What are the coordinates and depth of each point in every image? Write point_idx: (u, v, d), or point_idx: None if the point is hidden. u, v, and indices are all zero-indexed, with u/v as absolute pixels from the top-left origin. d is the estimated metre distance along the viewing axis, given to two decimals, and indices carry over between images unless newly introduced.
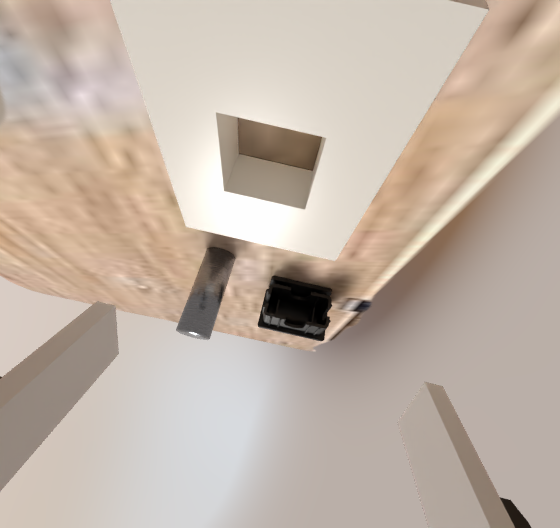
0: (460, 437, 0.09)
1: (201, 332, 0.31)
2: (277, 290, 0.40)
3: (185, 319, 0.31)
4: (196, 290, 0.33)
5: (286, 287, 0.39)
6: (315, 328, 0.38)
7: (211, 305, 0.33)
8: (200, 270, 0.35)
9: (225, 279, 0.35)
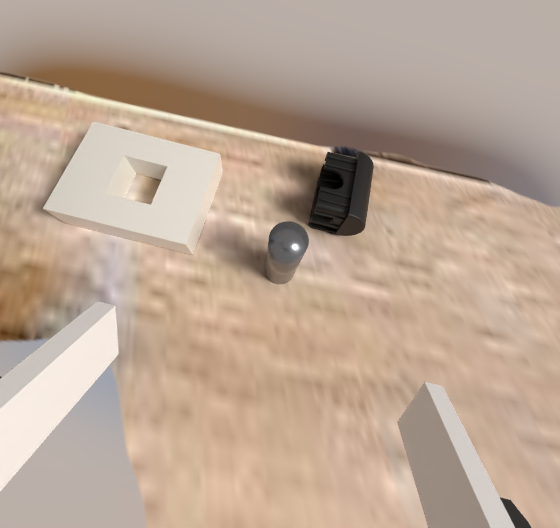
0: (460, 437, 0.09)
1: (276, 225, 0.28)
2: (319, 216, 0.39)
3: (269, 247, 0.28)
4: (267, 259, 0.32)
5: (312, 208, 0.40)
6: (332, 160, 0.37)
7: None
8: (269, 271, 0.34)
9: None
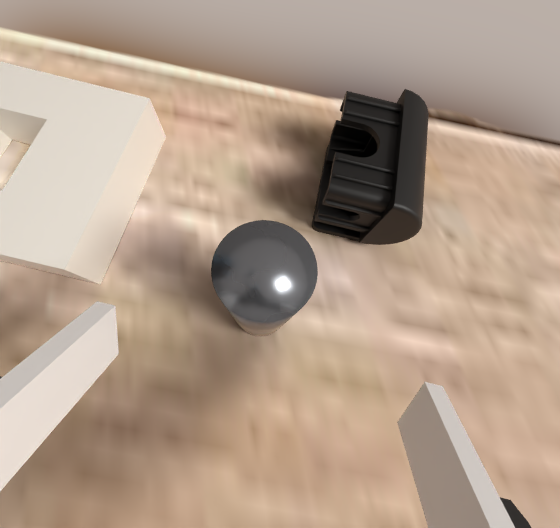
0: (460, 437, 0.09)
1: (233, 231, 0.11)
2: (331, 211, 0.22)
3: None
4: None
5: (318, 197, 0.23)
6: (356, 105, 0.20)
7: None
8: None
9: None
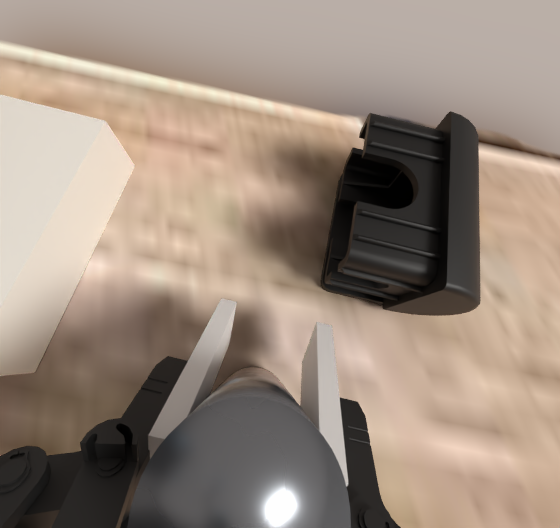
0: (327, 357, 0.11)
1: (182, 422, 0.05)
2: None
3: None
4: None
5: (330, 249, 0.17)
6: (384, 133, 0.14)
7: None
8: None
9: (241, 372, 0.12)
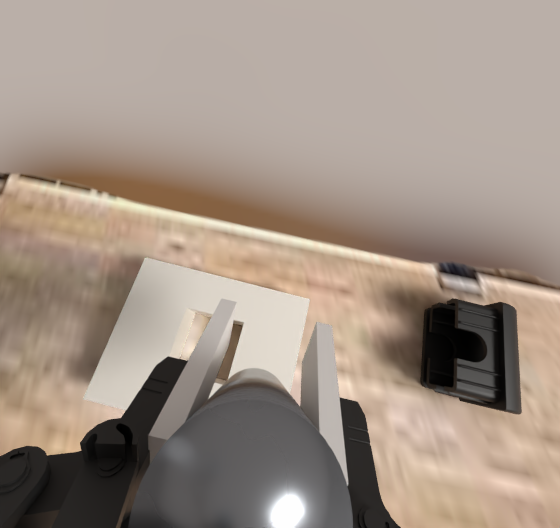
0: (327, 357, 0.11)
1: (183, 425, 0.05)
2: (440, 378, 0.29)
3: None
4: None
5: (428, 364, 0.30)
6: (466, 314, 0.27)
7: (211, 396, 0.09)
8: None
9: (241, 373, 0.12)
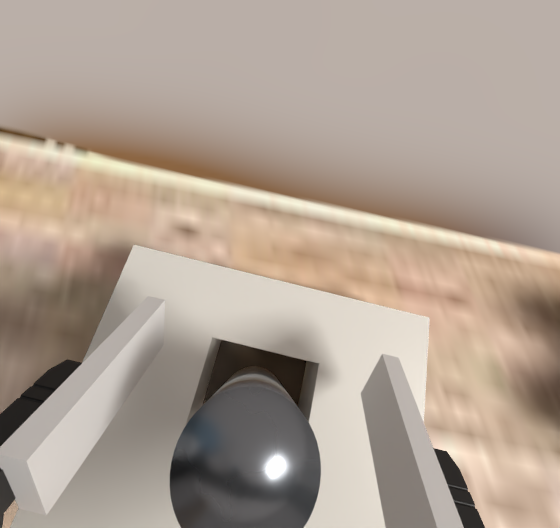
0: (406, 398, 0.10)
1: (204, 404, 0.08)
2: None
3: None
4: None
5: None
6: None
7: (221, 387, 0.11)
8: None
9: (244, 370, 0.15)
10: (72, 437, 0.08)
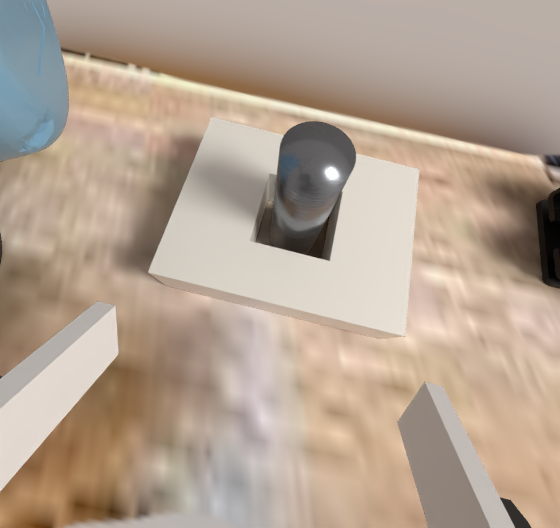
0: (460, 437, 0.09)
1: None
2: None
3: (279, 171, 0.15)
4: (275, 206, 0.18)
5: (556, 256, 0.25)
6: None
7: None
8: (277, 233, 0.21)
9: None
10: None
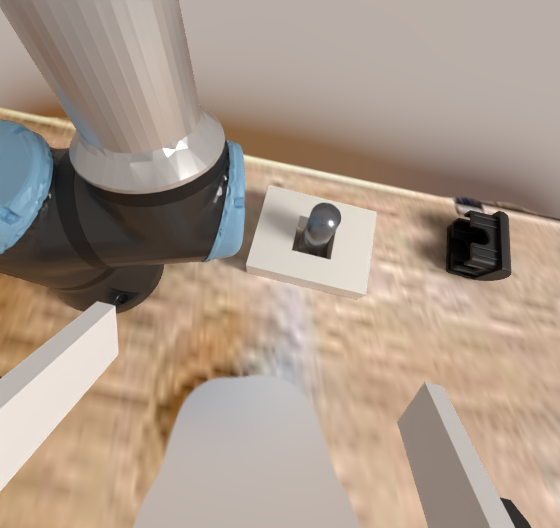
0: (460, 437, 0.09)
1: None
2: (459, 264, 0.45)
3: (309, 223, 0.36)
4: (305, 234, 0.39)
5: (451, 256, 0.46)
6: (477, 218, 0.43)
7: None
8: (304, 246, 0.42)
9: None
10: None
